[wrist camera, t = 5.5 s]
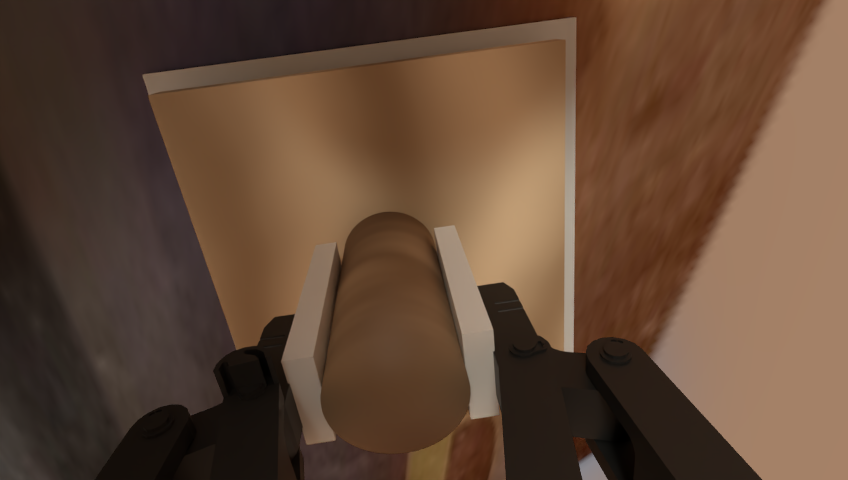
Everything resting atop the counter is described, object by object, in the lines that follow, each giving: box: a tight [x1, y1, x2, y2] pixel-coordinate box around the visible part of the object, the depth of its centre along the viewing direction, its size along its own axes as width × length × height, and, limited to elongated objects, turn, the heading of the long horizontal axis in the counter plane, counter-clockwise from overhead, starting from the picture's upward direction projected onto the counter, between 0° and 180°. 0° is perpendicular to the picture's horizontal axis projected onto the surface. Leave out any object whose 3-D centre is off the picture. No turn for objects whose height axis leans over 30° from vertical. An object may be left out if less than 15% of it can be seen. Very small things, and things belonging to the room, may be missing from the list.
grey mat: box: [142, 17, 576, 352], centre depth 21 cm, size 16×16×1 cm
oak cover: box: [148, 39, 566, 454], centre depth 15 cm, size 14×14×9 cm
